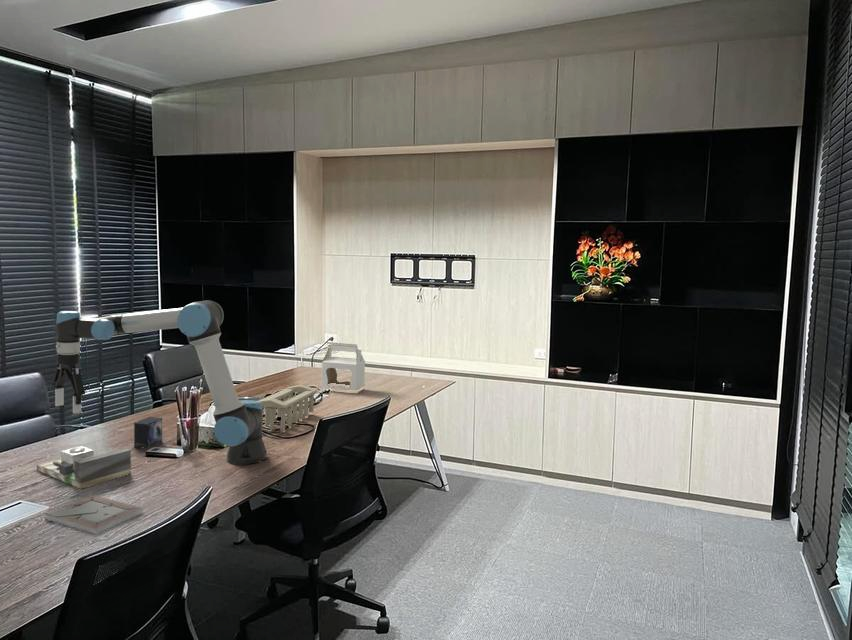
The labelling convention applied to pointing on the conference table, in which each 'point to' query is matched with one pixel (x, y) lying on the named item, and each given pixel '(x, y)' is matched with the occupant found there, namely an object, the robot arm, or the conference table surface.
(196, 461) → the conference table surface
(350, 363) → the gable box
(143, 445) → the small box
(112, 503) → the picture frame
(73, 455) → the grey dimpled block
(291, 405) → the architectural model
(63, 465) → the max marker
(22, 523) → the conference table surface
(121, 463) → the base
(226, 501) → the conference table surface
